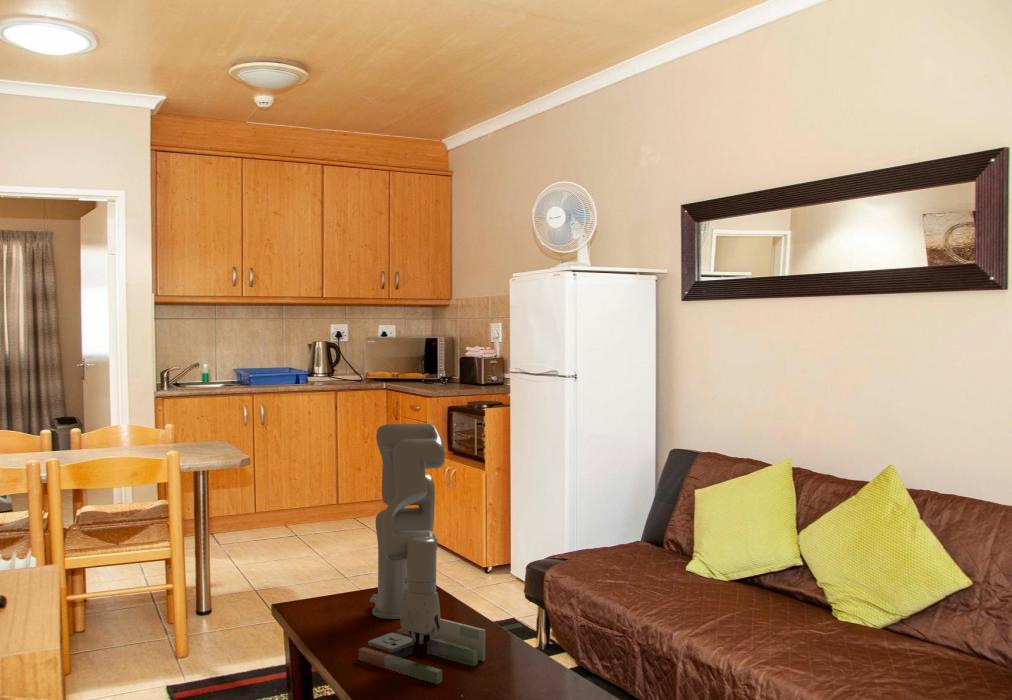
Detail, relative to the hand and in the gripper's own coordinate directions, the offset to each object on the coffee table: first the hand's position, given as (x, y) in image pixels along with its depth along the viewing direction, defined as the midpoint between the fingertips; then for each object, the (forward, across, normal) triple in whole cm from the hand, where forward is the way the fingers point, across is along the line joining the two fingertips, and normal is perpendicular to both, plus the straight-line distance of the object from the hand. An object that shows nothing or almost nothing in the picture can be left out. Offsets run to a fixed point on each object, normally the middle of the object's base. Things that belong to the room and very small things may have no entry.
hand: (420, 657), depth 221 cm
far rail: (+2, -1, +7) cm, 8 cm away
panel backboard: (+2, -1, +11) cm, 11 cm away
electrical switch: (+1, -6, 0) cm, 6 cm away
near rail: (+2, -1, -7) cm, 7 cm away
